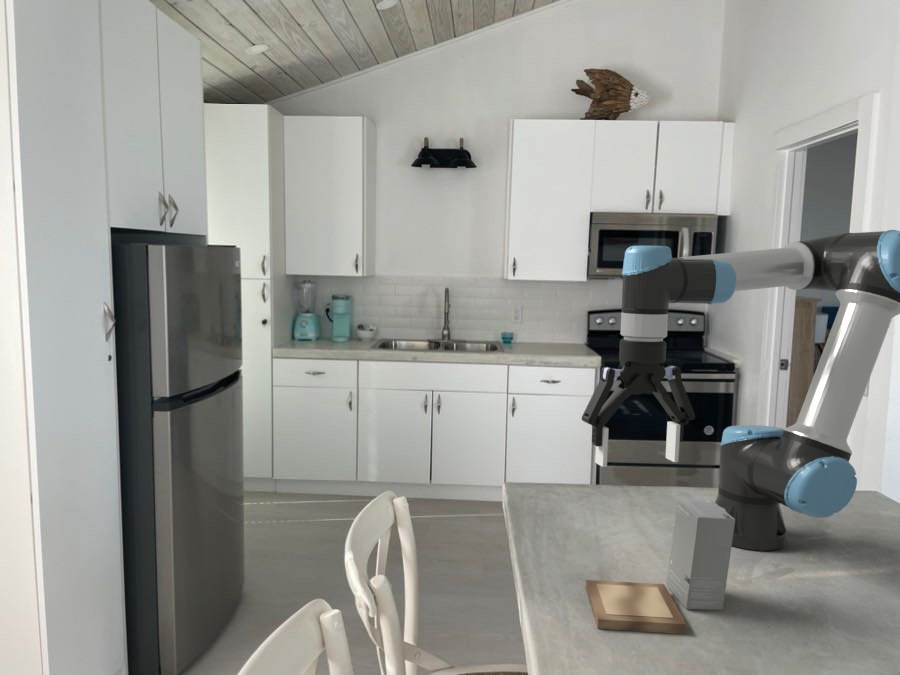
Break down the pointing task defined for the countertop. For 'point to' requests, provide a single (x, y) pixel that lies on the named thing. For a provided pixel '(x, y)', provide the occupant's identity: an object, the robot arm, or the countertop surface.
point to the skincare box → (700, 554)
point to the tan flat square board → (634, 607)
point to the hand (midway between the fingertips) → (636, 462)
